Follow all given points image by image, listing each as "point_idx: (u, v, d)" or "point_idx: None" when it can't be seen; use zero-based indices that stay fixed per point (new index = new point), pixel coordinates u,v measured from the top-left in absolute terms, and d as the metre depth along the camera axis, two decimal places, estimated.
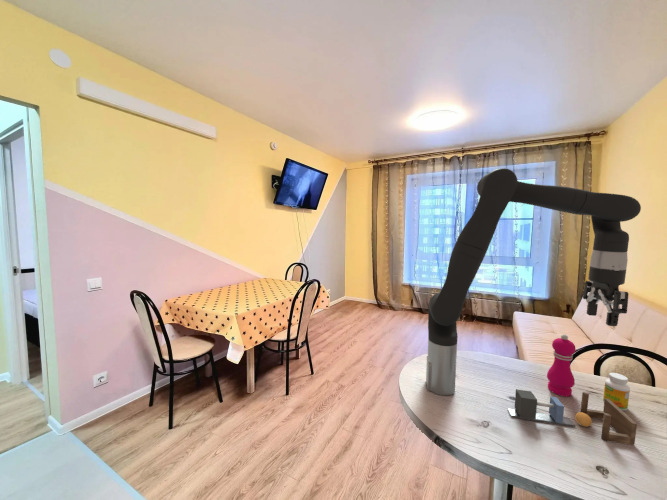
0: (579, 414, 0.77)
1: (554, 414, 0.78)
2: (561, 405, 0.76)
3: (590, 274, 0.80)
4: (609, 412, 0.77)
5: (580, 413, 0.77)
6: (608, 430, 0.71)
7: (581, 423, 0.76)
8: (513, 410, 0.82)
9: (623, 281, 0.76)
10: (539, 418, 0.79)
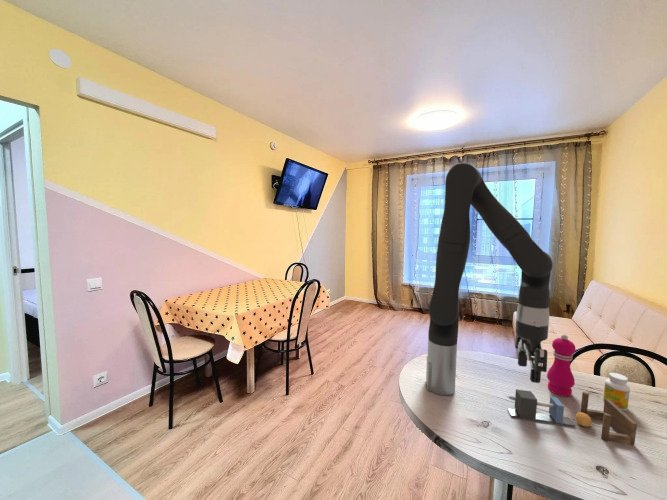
0: (579, 414, 0.77)
1: (554, 414, 0.78)
2: (561, 405, 0.76)
3: (516, 327, 0.79)
4: (609, 412, 0.77)
5: (580, 413, 0.77)
6: (608, 430, 0.71)
7: (581, 423, 0.76)
8: (513, 410, 0.82)
9: (545, 337, 0.75)
10: (539, 418, 0.79)
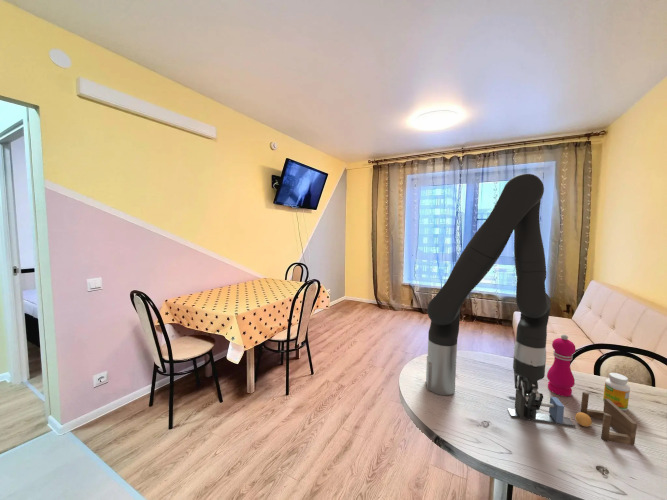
0: (579, 414, 0.77)
1: (554, 414, 0.78)
2: (561, 405, 0.76)
3: (513, 364, 0.80)
4: (609, 412, 0.77)
5: (580, 413, 0.77)
6: (608, 430, 0.71)
7: (581, 423, 0.76)
8: (513, 410, 0.82)
9: (542, 376, 0.76)
10: (539, 418, 0.79)
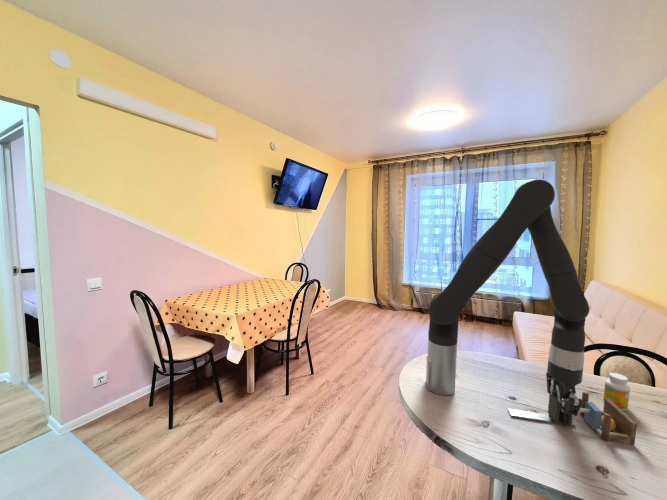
0: None
1: (591, 419, 0.75)
2: (599, 410, 0.74)
3: (548, 368, 0.78)
4: (609, 412, 0.77)
5: None
6: (608, 430, 0.71)
7: (614, 424, 0.74)
8: (513, 410, 0.82)
9: (580, 381, 0.73)
10: (539, 418, 0.79)
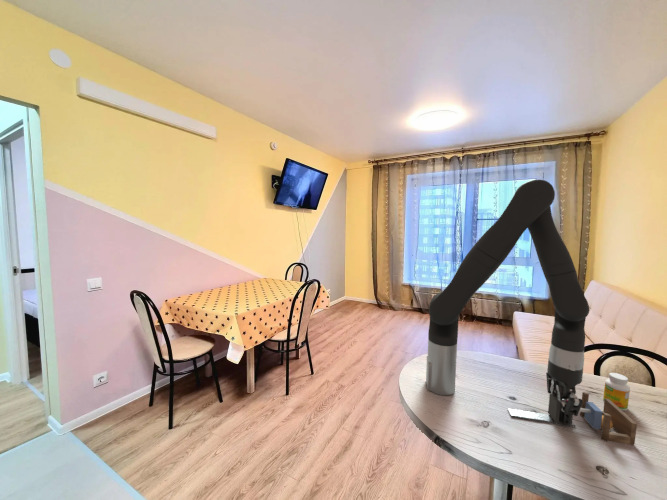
0: None
1: (591, 419, 0.75)
2: (599, 410, 0.74)
3: (548, 368, 0.78)
4: (609, 412, 0.77)
5: None
6: (608, 430, 0.71)
7: None
8: (513, 410, 0.82)
9: (580, 381, 0.73)
10: (539, 418, 0.79)
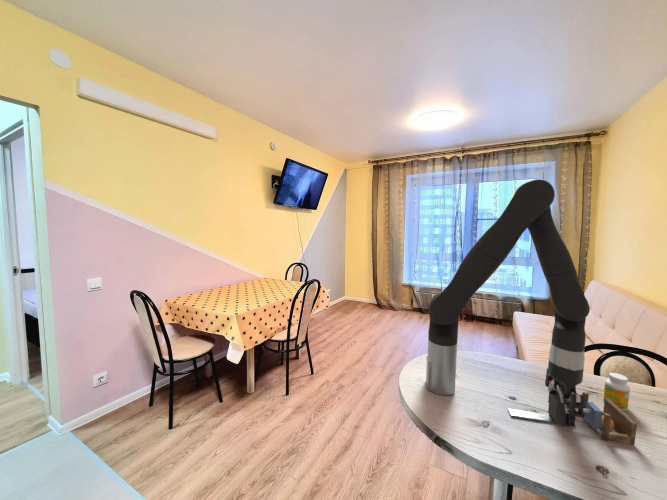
0: None
1: (591, 419, 0.75)
2: (599, 410, 0.74)
3: (549, 368, 0.78)
4: (609, 412, 0.77)
5: None
6: (608, 430, 0.71)
7: (612, 423, 0.74)
8: (513, 410, 0.82)
9: (580, 380, 0.73)
10: (539, 418, 0.79)
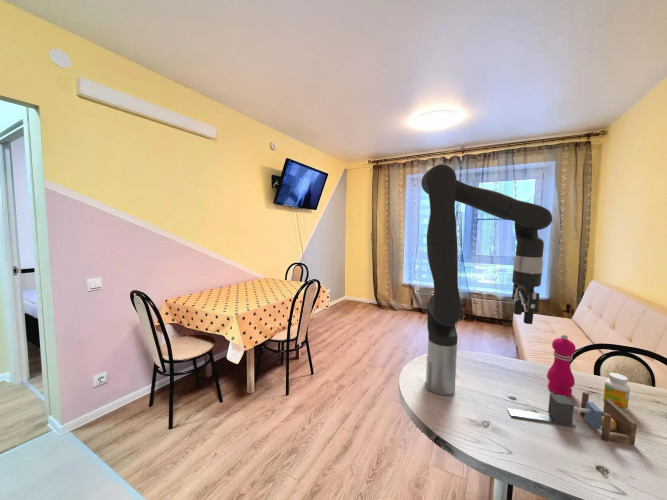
0: None
1: (591, 419, 0.75)
2: (599, 410, 0.74)
3: (513, 277, 0.88)
4: (609, 412, 0.77)
5: None
6: (608, 430, 0.71)
7: (615, 424, 0.74)
8: (513, 410, 0.82)
9: (538, 283, 0.84)
10: (539, 418, 0.79)
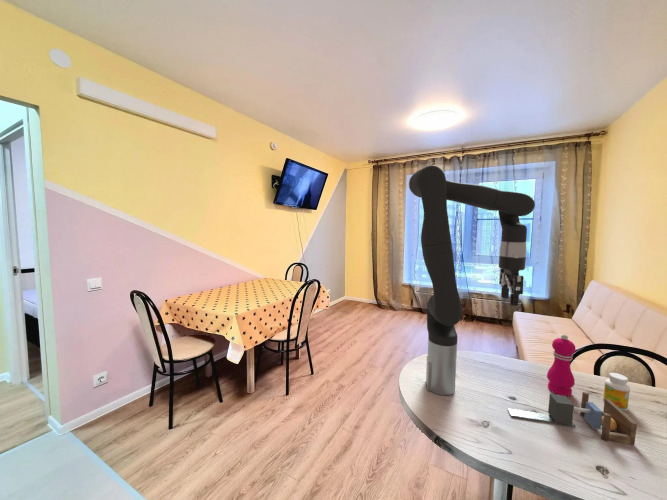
0: None
1: (591, 419, 0.75)
2: (599, 410, 0.74)
3: (499, 262, 0.93)
4: (609, 412, 0.77)
5: None
6: (608, 430, 0.71)
7: (615, 424, 0.74)
8: (513, 410, 0.82)
9: (522, 267, 0.89)
10: (539, 418, 0.79)
